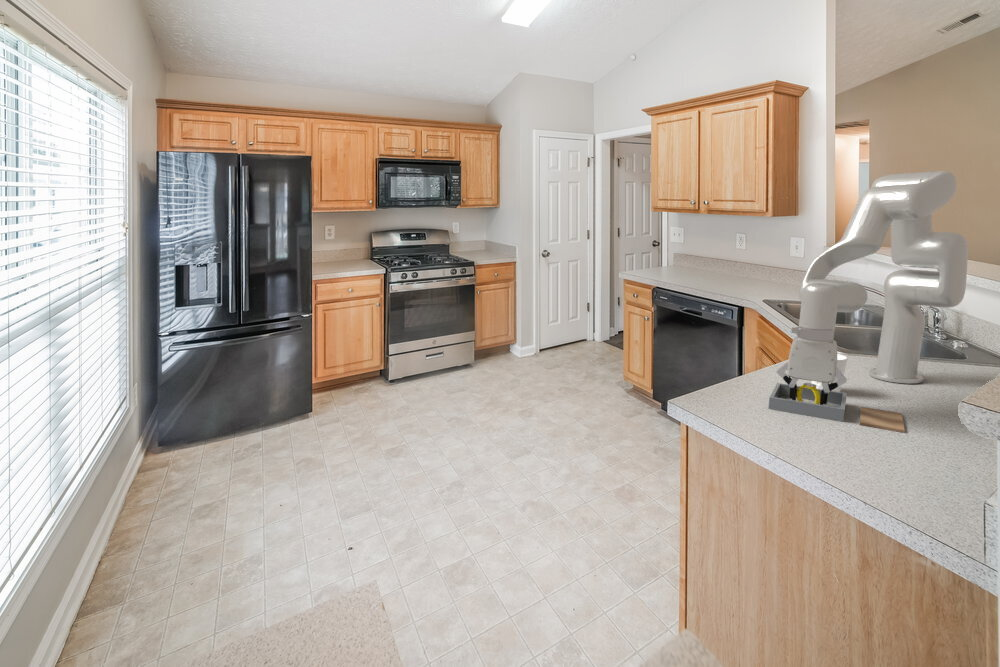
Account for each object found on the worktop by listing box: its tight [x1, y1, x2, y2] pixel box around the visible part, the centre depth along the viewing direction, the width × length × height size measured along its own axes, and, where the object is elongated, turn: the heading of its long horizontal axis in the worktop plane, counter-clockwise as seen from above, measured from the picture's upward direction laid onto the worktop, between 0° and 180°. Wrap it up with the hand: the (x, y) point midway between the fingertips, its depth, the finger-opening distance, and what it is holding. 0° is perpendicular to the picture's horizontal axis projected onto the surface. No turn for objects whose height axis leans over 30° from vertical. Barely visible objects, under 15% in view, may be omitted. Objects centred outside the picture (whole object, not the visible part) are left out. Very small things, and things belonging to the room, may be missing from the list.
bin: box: [768, 382, 848, 422], centre depth 127 cm, size 14×16×3 cm
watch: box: [796, 382, 820, 404], centre depth 126 cm, size 6×3×6 cm, turn 15°
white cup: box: [811, 353, 848, 392], centre depth 137 cm, size 8×8×10 cm
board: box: [859, 406, 906, 433], centre depth 117 cm, size 12×8×1 cm, turn 144°
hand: (807, 403), depth 127 cm, fingers closed on watch, 5 cm apart
